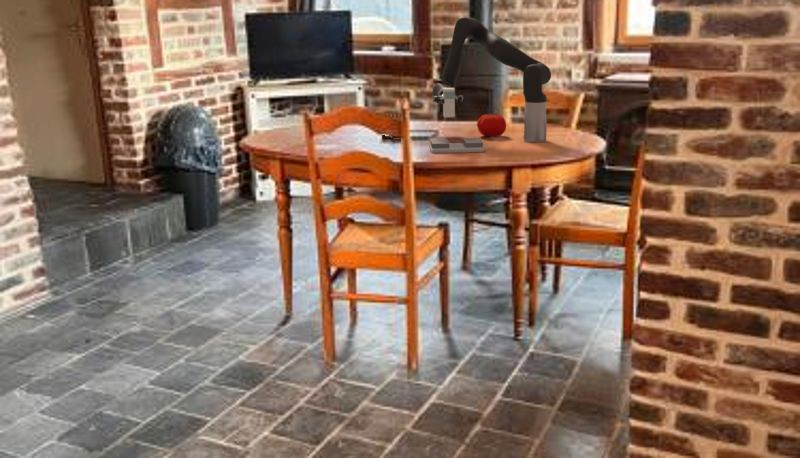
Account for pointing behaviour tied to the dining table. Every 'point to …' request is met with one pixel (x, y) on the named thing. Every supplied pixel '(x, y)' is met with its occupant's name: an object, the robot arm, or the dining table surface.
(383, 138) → the ammunition clip
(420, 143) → the dining table surface
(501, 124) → the tomato
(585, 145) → the dining table surface
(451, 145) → the rack board
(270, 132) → the dining table surface
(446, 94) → the grey module
